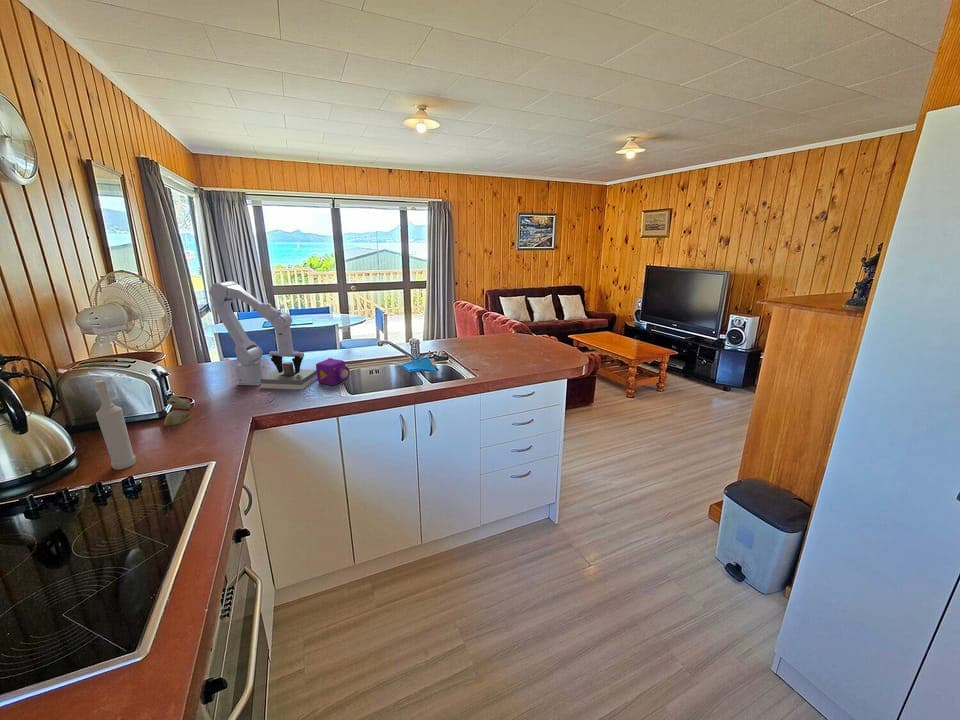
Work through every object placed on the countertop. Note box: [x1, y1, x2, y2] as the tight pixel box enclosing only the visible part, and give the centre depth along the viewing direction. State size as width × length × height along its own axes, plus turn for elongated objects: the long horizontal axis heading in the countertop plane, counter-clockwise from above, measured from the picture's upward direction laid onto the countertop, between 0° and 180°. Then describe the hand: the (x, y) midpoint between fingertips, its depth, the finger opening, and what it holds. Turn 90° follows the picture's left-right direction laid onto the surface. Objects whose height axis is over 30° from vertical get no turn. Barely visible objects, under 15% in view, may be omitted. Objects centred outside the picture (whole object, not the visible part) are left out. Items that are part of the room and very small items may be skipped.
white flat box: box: [260, 368, 318, 390], centre depth 173 cm, size 18×14×4 cm
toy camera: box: [315, 357, 351, 386], centre depth 174 cm, size 11×14×10 cm
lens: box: [282, 361, 295, 377], centre depth 172 cm, size 4×4×7 cm
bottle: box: [94, 379, 137, 470], centre depth 107 cm, size 5×5×25 cm
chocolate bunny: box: [163, 394, 192, 427], centre depth 136 cm, size 6×8×10 cm
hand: (289, 372), depth 172 cm, fingers open, 7 cm apart
